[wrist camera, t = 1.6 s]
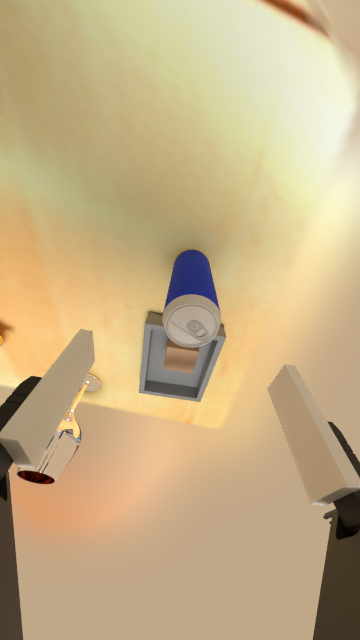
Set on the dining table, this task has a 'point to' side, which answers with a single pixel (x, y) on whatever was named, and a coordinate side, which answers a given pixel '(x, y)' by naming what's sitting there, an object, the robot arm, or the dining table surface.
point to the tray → (173, 381)
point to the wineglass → (60, 443)
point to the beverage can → (191, 302)
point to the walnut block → (180, 357)
